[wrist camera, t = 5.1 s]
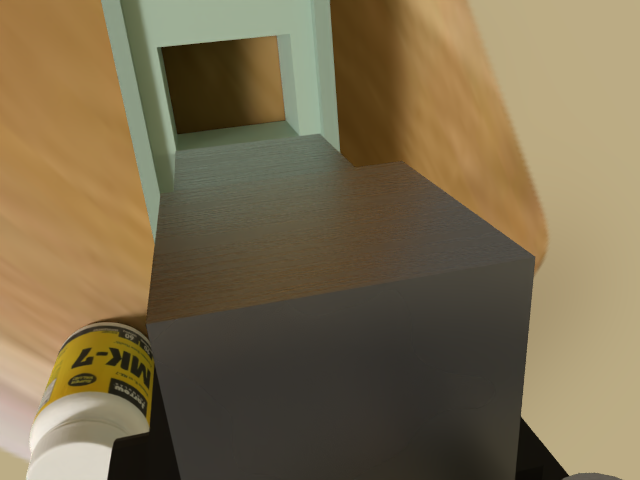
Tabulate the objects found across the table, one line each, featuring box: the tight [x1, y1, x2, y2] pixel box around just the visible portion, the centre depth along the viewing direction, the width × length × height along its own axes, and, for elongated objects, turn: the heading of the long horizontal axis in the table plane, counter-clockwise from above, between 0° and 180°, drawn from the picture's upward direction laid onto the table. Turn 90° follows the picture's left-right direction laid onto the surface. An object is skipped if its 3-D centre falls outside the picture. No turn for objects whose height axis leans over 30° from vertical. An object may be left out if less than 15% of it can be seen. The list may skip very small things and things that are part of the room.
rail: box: [101, 0, 340, 243], centre depth 24 cm, size 22×8×4 cm, turn 5°
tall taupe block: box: [146, 134, 535, 480], centre depth 10 cm, size 9×3×8 cm, turn 4°
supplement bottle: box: [26, 322, 154, 480], centre depth 25 cm, size 5×5×8 cm
